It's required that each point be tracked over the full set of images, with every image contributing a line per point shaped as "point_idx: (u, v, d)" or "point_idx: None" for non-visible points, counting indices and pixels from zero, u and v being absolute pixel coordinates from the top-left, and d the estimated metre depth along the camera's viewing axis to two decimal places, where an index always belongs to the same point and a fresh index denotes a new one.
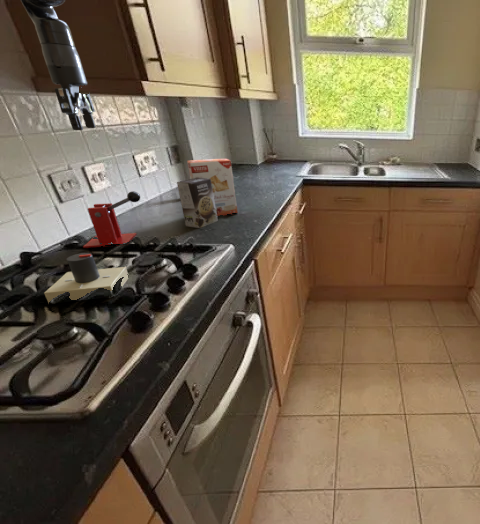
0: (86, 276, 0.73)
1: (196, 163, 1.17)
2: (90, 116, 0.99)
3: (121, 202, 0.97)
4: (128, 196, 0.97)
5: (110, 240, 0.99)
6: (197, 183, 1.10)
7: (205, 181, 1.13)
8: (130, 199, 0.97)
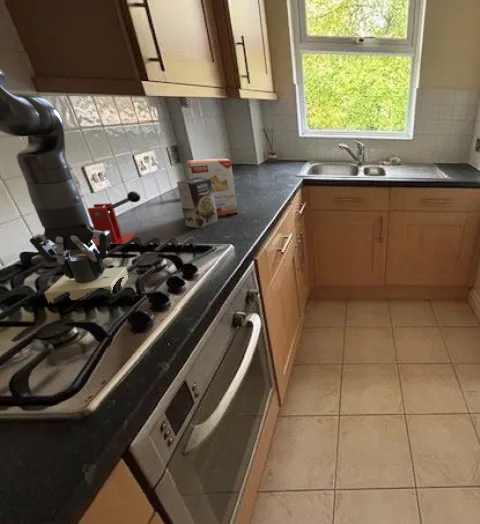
0: (86, 276, 0.73)
1: (196, 163, 1.17)
2: None
3: (121, 202, 0.97)
4: (128, 196, 0.97)
5: (110, 240, 0.99)
6: (197, 183, 1.10)
7: (205, 181, 1.13)
8: (130, 199, 0.97)
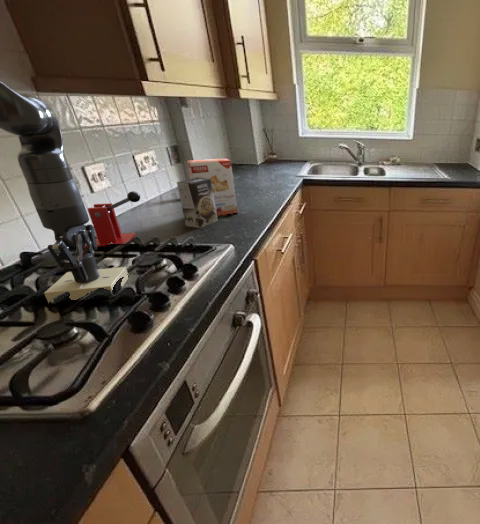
0: (97, 269, 0.76)
1: (196, 163, 1.17)
2: None
3: (121, 202, 0.97)
4: (128, 196, 0.97)
5: (110, 240, 0.99)
6: (197, 183, 1.10)
7: (205, 181, 1.13)
8: (130, 199, 0.97)
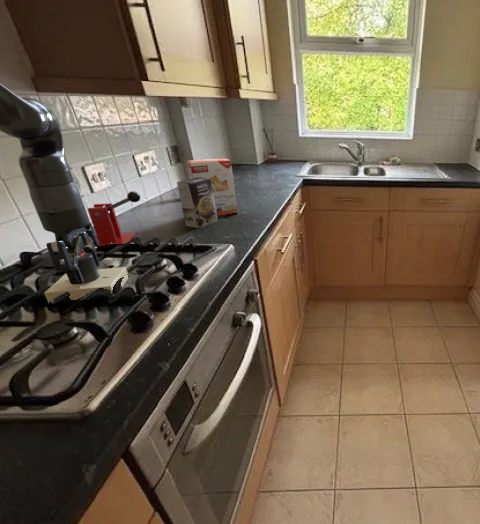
0: (97, 269, 0.76)
1: (196, 163, 1.17)
2: (93, 254, 0.77)
3: (121, 202, 0.97)
4: (128, 196, 0.97)
5: (110, 240, 0.99)
6: (197, 183, 1.10)
7: (205, 181, 1.13)
8: (130, 199, 0.97)
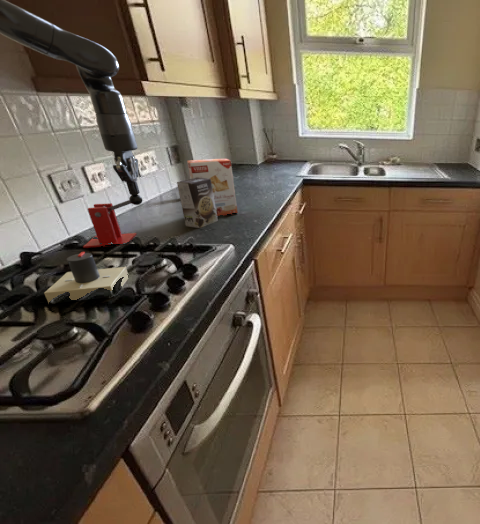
0: (97, 269, 0.76)
1: (196, 163, 1.17)
2: None
3: (122, 204, 0.98)
4: (130, 199, 0.97)
5: (110, 240, 0.99)
6: (197, 183, 1.10)
7: (205, 181, 1.13)
8: (132, 202, 0.97)
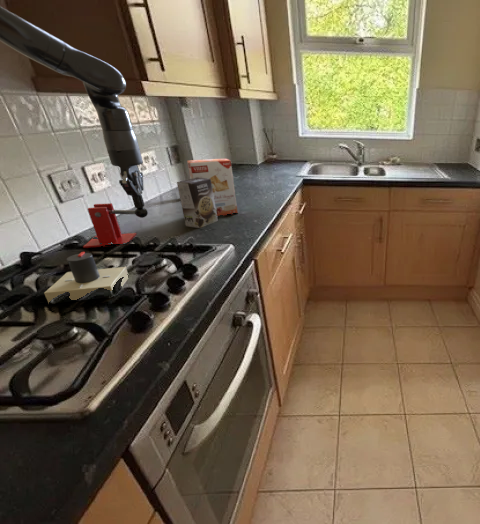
0: (97, 269, 0.76)
1: (196, 163, 1.17)
2: None
3: (126, 212, 0.99)
4: (137, 211, 0.99)
5: (110, 240, 0.99)
6: (197, 183, 1.10)
7: (205, 181, 1.13)
8: (137, 214, 0.99)
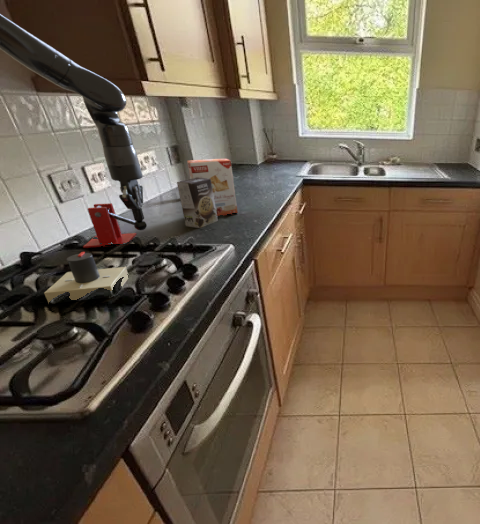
0: (97, 269, 0.76)
1: (196, 163, 1.17)
2: None
3: (126, 220, 1.00)
4: (137, 223, 1.00)
5: (110, 240, 0.99)
6: (197, 183, 1.10)
7: (205, 181, 1.13)
8: (136, 226, 1.00)
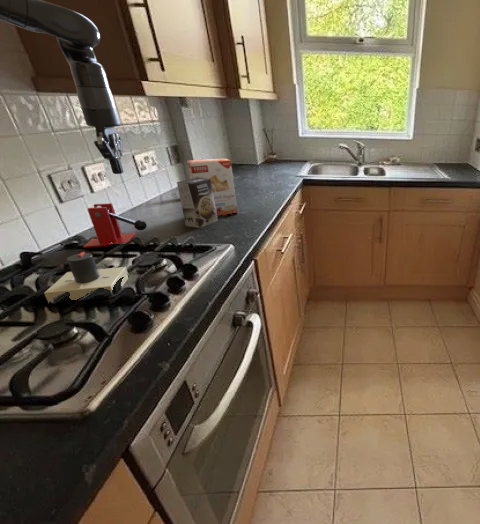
0: (97, 269, 0.76)
1: (196, 163, 1.17)
2: None
3: (126, 220, 1.00)
4: (137, 223, 1.00)
5: (110, 240, 0.99)
6: (197, 183, 1.10)
7: (205, 181, 1.13)
8: (136, 226, 1.00)
